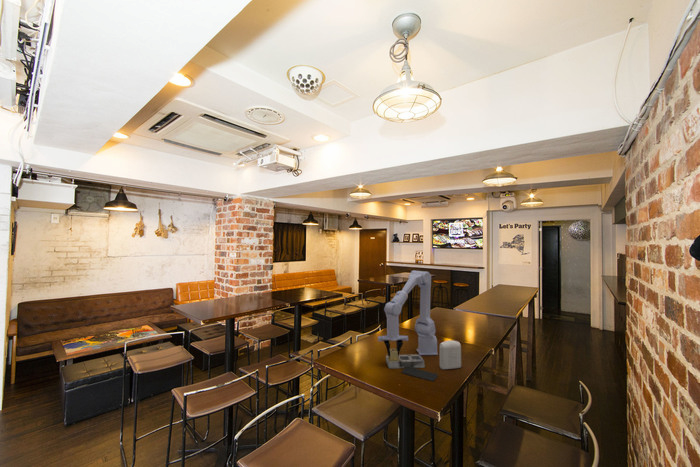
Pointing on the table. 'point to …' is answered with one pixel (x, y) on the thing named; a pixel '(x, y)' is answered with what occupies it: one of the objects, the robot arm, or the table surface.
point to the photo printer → (450, 355)
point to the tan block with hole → (393, 355)
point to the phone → (420, 373)
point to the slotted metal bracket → (406, 361)
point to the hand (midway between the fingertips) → (393, 355)
